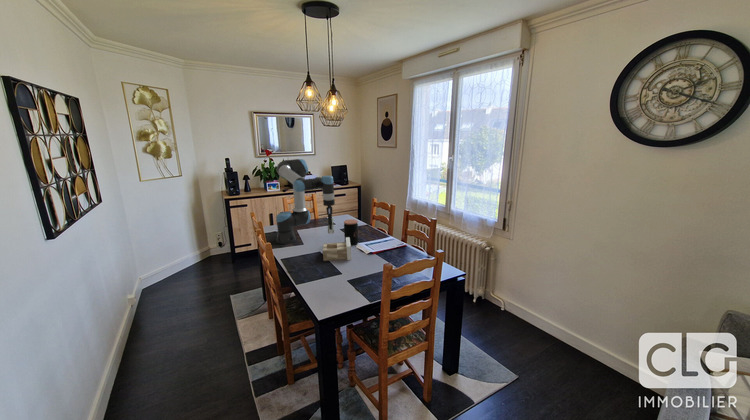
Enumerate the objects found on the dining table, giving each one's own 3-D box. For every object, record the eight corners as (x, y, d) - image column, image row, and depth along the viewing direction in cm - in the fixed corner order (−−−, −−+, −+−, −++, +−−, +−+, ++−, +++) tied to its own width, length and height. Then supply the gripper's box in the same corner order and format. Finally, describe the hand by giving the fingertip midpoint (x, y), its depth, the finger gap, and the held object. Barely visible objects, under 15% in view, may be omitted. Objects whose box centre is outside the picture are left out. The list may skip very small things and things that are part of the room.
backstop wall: (346, 250, 214) (345, 237, 212) (350, 249, 215) (349, 237, 212) (347, 260, 197) (346, 246, 194) (351, 260, 197) (350, 246, 195)
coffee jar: (356, 246, 221) (355, 223, 216) (343, 245, 223) (341, 223, 219) (360, 241, 231) (359, 219, 227) (347, 240, 233) (346, 219, 229)
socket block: (324, 252, 210) (323, 243, 208) (346, 251, 212) (345, 242, 210) (323, 260, 197) (322, 251, 195) (347, 258, 199) (346, 249, 197)
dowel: (328, 231, 201) (327, 218, 199) (333, 231, 202) (332, 217, 199) (328, 233, 197) (327, 219, 195) (334, 233, 198) (333, 219, 196)
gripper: (323, 196, 201) (325, 228, 207) (322, 202, 185) (325, 237, 191) (334, 196, 202) (336, 228, 208) (334, 201, 186) (336, 236, 192)
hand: (331, 232), depth 200 cm, fingers closed on dowel, 4 cm apart
